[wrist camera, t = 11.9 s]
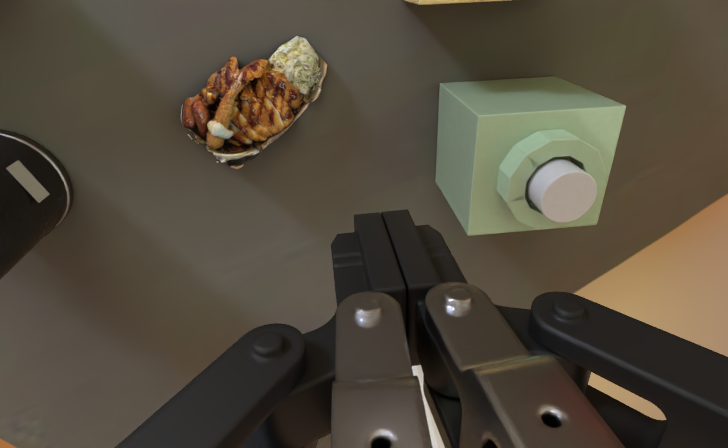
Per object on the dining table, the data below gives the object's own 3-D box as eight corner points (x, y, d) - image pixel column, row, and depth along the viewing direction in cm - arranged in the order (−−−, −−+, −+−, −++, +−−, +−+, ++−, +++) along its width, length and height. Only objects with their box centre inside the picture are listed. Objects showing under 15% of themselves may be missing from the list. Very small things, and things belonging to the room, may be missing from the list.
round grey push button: (523, 210, 31) (537, 225, 29) (531, 160, 29) (546, 173, 27) (574, 206, 31) (591, 221, 29) (584, 156, 29) (603, 169, 27)
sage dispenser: (435, 181, 42) (476, 250, 31) (439, 82, 37) (489, 124, 27) (538, 173, 42) (612, 238, 32) (555, 76, 38) (646, 114, 28)
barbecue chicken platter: (340, 80, 36) (343, 90, 33) (238, 172, 39) (231, 189, 36) (279, 6, 33) (275, 10, 30) (172, 112, 36) (159, 125, 33)
